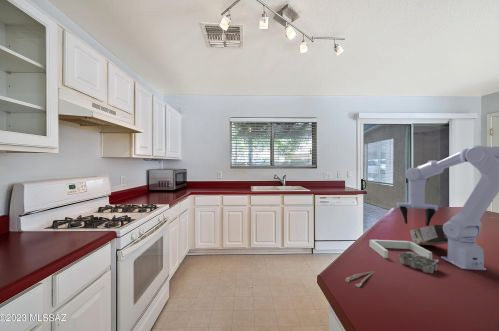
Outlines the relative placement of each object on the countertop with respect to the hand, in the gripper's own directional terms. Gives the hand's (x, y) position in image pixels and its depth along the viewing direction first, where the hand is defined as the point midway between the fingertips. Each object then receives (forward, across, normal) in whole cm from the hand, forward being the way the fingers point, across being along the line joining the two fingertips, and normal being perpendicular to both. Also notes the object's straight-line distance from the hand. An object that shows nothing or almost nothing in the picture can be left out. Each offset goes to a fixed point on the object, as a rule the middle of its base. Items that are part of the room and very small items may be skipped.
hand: (416, 224), depth 96 cm
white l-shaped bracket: (+10, +8, +14) cm, 19 cm away
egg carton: (+10, +4, +24) cm, 26 cm away
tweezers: (+11, +21, +41) cm, 47 cm away
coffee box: (+7, -3, -5) cm, 9 cm away
